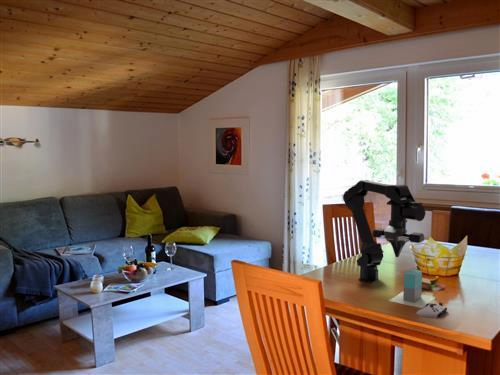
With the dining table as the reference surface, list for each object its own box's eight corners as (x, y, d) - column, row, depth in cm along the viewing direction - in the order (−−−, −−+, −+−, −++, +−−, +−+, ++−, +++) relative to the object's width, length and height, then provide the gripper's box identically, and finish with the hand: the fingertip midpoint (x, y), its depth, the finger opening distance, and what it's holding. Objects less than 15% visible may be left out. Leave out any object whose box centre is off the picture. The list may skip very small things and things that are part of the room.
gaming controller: (425, 305, 165) (440, 294, 162) (437, 320, 163) (453, 309, 159) (413, 314, 157) (429, 303, 153) (426, 330, 154) (442, 319, 151)
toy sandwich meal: (445, 297, 177) (446, 284, 177) (407, 292, 182) (408, 280, 181) (445, 287, 189) (445, 275, 188) (409, 283, 194) (409, 272, 193)
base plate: (388, 303, 170) (388, 300, 169) (403, 293, 180) (403, 290, 180) (422, 310, 162) (422, 308, 162) (435, 300, 173) (435, 297, 173)
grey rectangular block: (403, 300, 170) (403, 286, 169) (410, 295, 175) (410, 282, 174) (414, 302, 167) (414, 289, 167) (421, 297, 172) (421, 284, 172)
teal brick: (403, 286, 169) (404, 273, 169) (410, 282, 175) (411, 269, 174) (414, 289, 167) (415, 275, 166) (421, 284, 172) (422, 270, 172)
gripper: (366, 217, 182) (365, 257, 183) (414, 222, 170) (413, 265, 172) (378, 214, 190) (377, 252, 192) (425, 218, 179) (424, 259, 180)
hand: (397, 257), depth 184 cm, fingers closed
